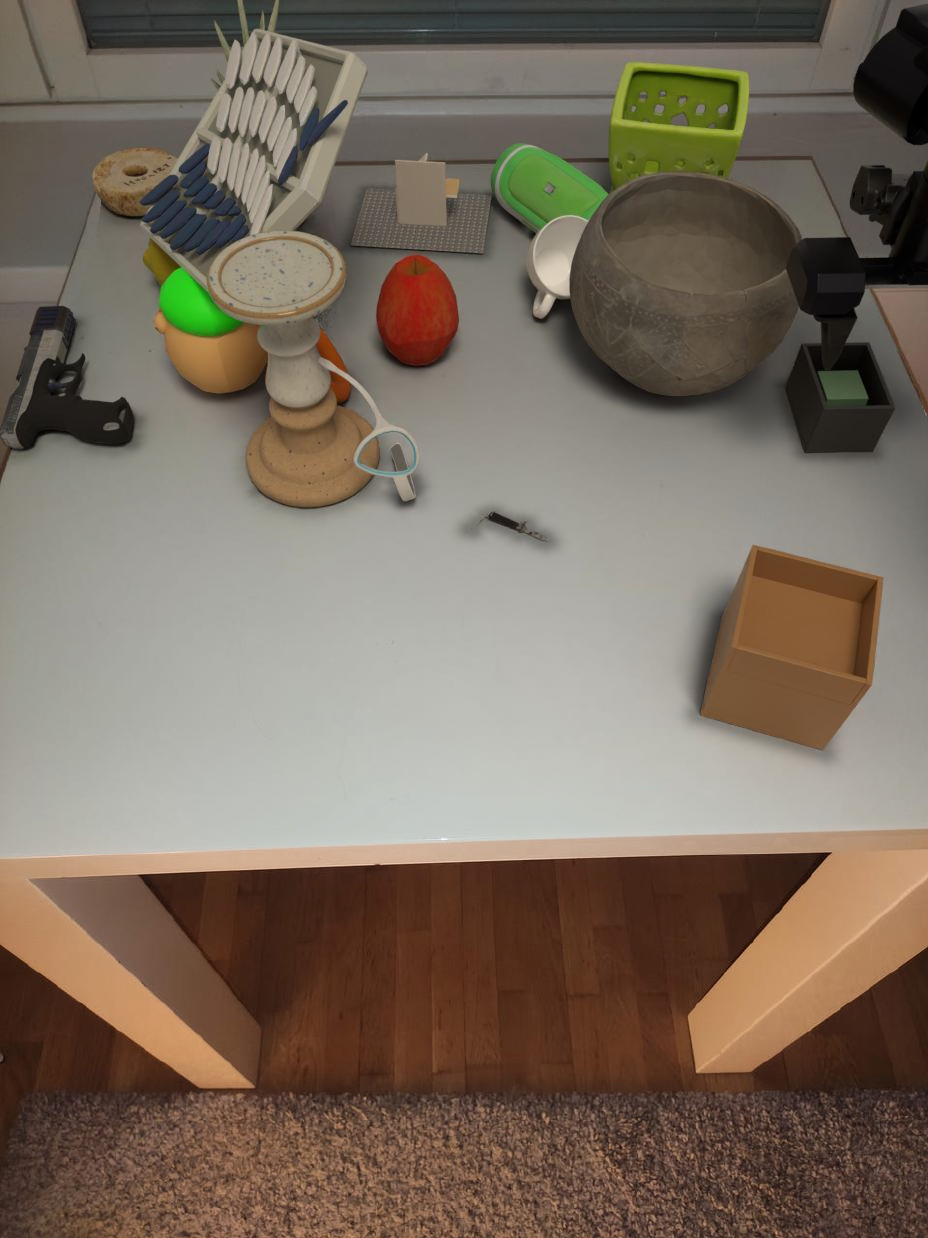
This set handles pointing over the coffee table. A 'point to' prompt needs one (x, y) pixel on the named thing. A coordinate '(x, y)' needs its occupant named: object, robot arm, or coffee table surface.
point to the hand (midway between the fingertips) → (882, 365)
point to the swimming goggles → (403, 471)
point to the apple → (417, 311)
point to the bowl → (684, 281)
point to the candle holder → (294, 366)
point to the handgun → (37, 380)
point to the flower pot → (670, 145)
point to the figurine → (206, 338)
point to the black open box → (838, 423)
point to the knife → (512, 524)
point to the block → (842, 388)
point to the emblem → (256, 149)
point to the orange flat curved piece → (330, 353)
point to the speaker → (542, 187)
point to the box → (794, 647)
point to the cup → (553, 260)
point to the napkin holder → (423, 212)
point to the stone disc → (130, 178)
